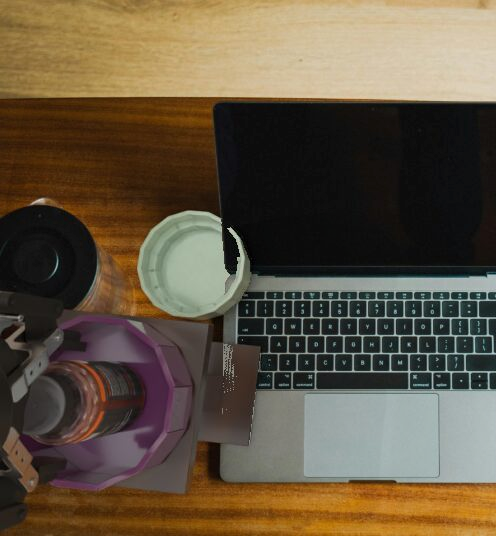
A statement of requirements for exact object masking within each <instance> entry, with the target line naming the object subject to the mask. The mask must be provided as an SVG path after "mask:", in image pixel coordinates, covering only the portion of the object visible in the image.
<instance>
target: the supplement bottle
mask: <svg viewBox="0 0 496 536" xmlns="http://www.w3.org/2000/svg"><path fill="white" fill-rule="evenodd" d="M145 394H146V393H145V387H144V384H143V381H142V379H141V377H140V376H139V374H138V373H137V372H136V371H135V370H134V369H133V368H131V367H130V366H128V365H126V364H123V363H120V362H114V361H80V360H78V361H76V360H60V361H54V362H50V365H49V366H48V367H47V368H46V369H45V370H44V371H43V372H42V373H41V374H40V375H39V376H38V377H37V378H36V379H35V380H34V381H33V382H32V383H31V388H30V394H29V398H28V401H27V404H26V407H25V411H24V426H23V432H22V433H23V434H26V435H29V436H31V437H32V438H33V439H35V440H37V441H38V442H41V443H43V444H47V445H67V444H72V443H76V442H81V441H85V440H90V439H94V438H98V437H103V436H107V435H112V434H115V433H118V432H121V431H123V430H125V429H127V428H128V427H130V426H131V425H132V424H133V423H134V422H135V421H136V420H137V419H138V418H139V416H140V414H141V412H142V410H143V407H144V403H145Z"/></svg>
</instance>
